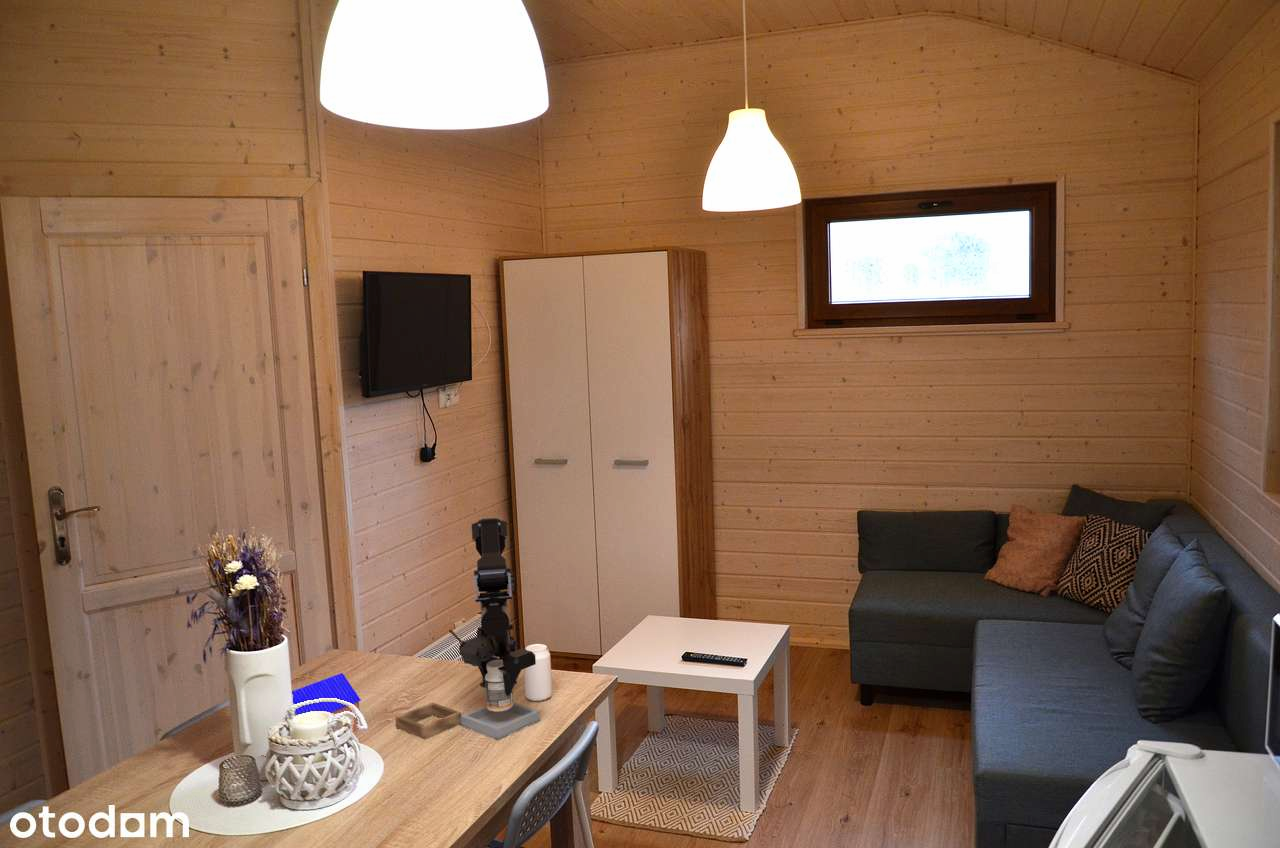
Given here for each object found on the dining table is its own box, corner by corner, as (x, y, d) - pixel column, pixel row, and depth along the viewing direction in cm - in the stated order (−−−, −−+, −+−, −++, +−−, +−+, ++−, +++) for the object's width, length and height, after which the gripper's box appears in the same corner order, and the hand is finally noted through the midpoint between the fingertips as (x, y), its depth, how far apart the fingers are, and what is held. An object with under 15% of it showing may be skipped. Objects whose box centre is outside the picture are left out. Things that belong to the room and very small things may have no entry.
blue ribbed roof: (363, 730, 215) (359, 677, 213) (281, 765, 199) (276, 709, 198) (329, 718, 222) (325, 667, 221) (247, 751, 206) (243, 697, 205)
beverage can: (553, 692, 231) (550, 642, 230) (551, 702, 225) (548, 651, 224) (526, 693, 231) (523, 643, 230) (524, 703, 225) (521, 652, 224)
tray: (503, 708, 223) (502, 698, 223) (540, 721, 215) (539, 710, 215) (461, 726, 214) (460, 716, 214) (498, 740, 206) (497, 729, 206)
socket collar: (433, 713, 222) (432, 702, 222) (462, 723, 215) (461, 712, 215) (396, 728, 214) (395, 717, 214) (424, 739, 208) (423, 728, 207)
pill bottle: (490, 702, 217) (487, 658, 216) (516, 702, 217) (513, 658, 216) (483, 712, 212) (480, 667, 211) (510, 712, 211) (507, 667, 210)
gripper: (437, 623, 212) (442, 693, 214) (495, 640, 200) (499, 714, 202) (477, 610, 220) (481, 678, 222) (535, 625, 208) (539, 697, 210)
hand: (499, 691), depth 214 cm, fingers closed on pill bottle, 6 cm apart
